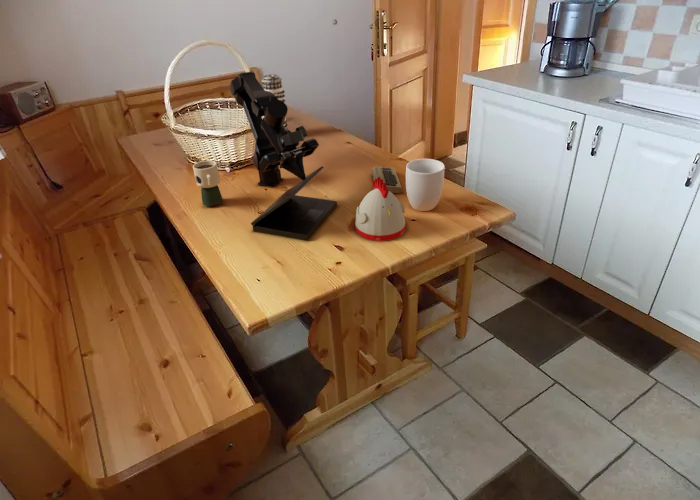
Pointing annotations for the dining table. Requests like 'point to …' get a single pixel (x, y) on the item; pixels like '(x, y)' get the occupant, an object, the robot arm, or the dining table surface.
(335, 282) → the dining table surface
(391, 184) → the computer
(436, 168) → the mug
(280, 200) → the laptop screen
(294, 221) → the laptop
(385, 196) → the kitchen timer
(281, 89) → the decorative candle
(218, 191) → the character mug
